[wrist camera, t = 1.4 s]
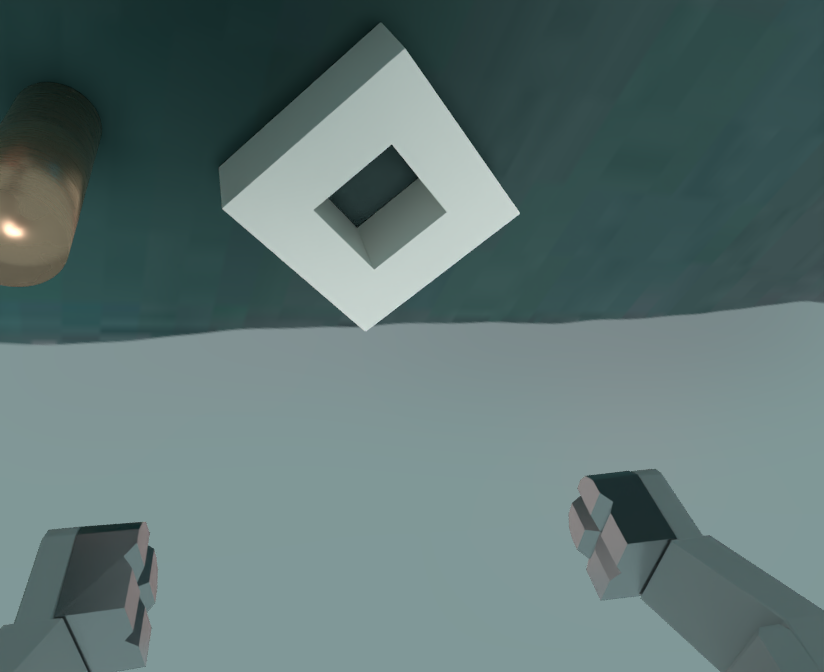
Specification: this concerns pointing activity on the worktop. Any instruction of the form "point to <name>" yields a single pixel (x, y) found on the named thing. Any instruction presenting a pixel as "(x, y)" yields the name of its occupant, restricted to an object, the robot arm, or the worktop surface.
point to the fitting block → (342, 159)
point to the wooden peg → (43, 179)
